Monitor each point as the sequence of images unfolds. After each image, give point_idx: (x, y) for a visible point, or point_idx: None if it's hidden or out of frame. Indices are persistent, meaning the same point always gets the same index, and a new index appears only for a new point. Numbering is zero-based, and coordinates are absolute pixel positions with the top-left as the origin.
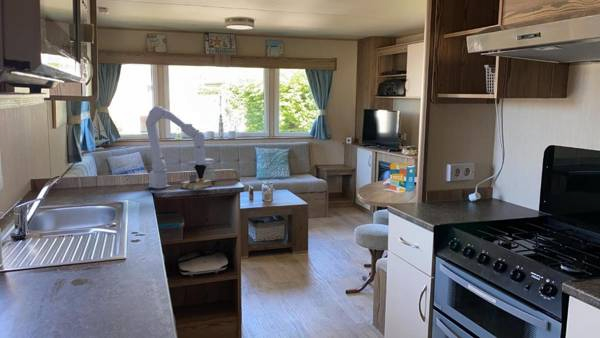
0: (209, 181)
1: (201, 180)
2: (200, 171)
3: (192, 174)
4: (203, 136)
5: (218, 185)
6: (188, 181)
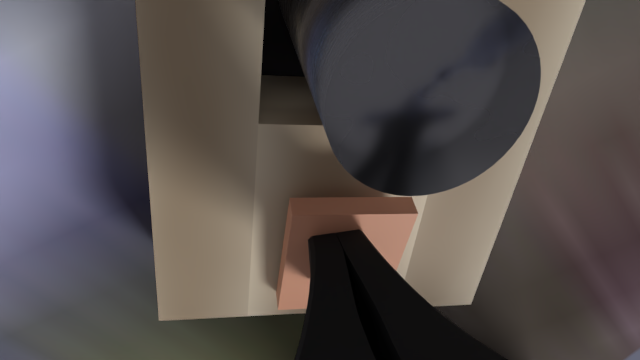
0: (157, 271)
1: None
2: (316, 357)
3: (485, 159)
4: None
5: (76, 302)
6: None
